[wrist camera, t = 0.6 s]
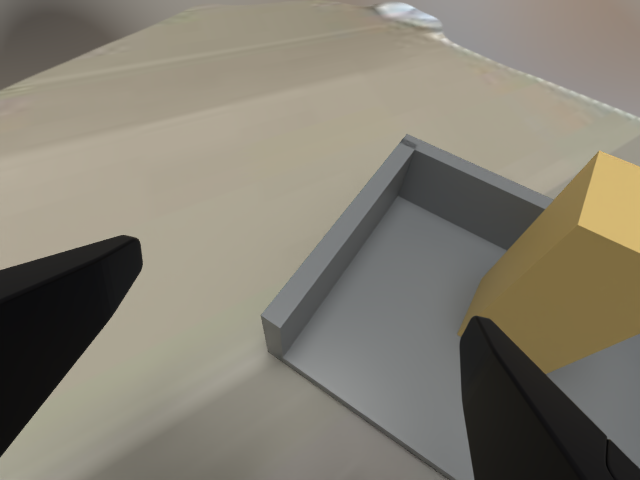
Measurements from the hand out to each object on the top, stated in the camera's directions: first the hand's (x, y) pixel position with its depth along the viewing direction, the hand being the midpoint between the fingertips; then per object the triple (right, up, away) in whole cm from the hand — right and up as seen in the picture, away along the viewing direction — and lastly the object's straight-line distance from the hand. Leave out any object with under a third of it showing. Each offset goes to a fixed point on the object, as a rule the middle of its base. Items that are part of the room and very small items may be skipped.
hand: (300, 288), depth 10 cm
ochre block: (+13, -4, +14) cm, 20 cm away
